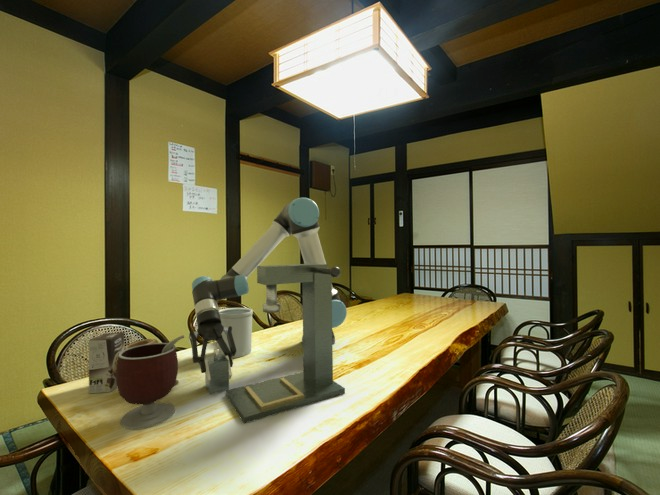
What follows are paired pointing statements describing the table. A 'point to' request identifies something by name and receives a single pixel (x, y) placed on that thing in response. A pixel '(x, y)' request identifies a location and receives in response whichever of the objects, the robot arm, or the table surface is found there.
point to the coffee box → (104, 361)
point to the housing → (218, 373)
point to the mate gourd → (147, 382)
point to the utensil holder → (237, 329)
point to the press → (316, 345)
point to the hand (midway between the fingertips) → (219, 379)
